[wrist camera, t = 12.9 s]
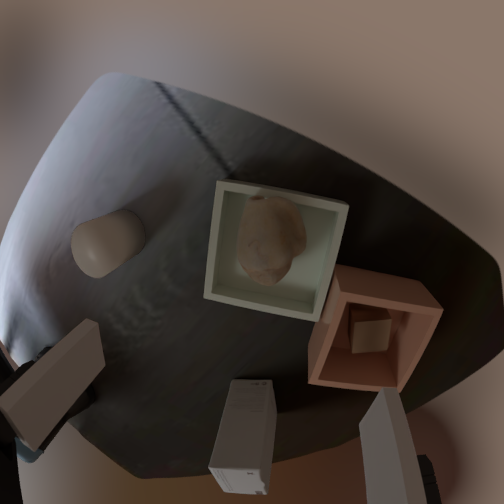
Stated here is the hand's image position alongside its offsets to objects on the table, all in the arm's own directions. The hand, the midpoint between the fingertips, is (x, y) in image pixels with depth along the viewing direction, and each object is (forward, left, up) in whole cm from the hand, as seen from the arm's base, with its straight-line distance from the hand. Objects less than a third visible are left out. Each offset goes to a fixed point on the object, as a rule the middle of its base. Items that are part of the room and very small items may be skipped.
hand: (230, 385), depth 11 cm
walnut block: (+12, -6, -20) cm, 24 cm away
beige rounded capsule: (-18, -2, -20) cm, 27 cm away
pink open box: (+12, -6, -20) cm, 24 cm away
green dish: (0, 0, -20) cm, 20 cm away
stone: (0, +2, -19) cm, 19 cm away
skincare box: (+2, -23, -21) cm, 31 cm away
